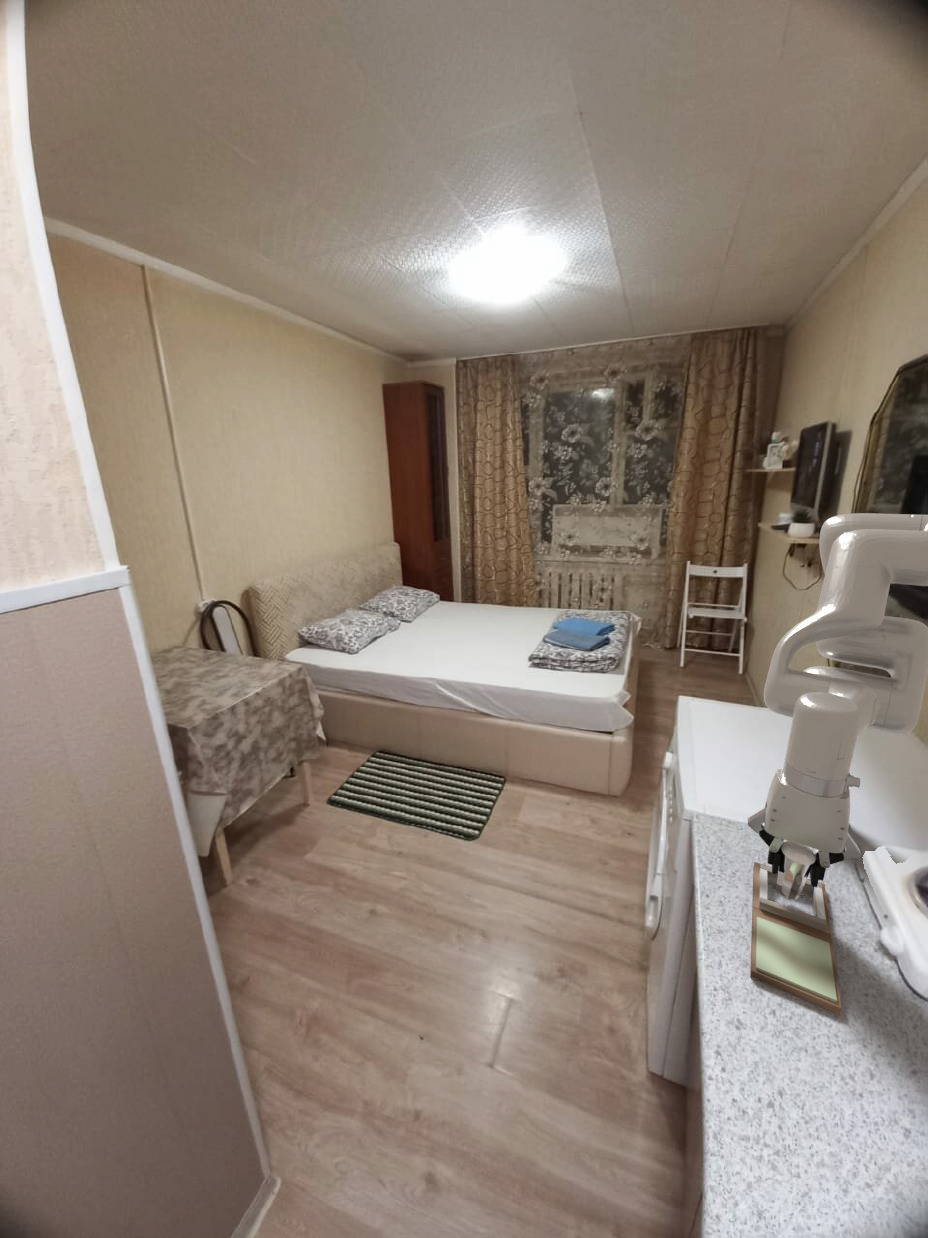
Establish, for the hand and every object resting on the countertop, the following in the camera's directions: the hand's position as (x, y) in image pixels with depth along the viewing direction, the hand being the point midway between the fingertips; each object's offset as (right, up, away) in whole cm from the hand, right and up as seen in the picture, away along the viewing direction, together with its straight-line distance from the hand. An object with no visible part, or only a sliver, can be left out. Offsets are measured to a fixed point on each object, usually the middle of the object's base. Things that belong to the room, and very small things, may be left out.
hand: (793, 873), depth 76 cm
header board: (-2, -7, -3) cm, 8 cm away
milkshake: (0, -4, +1) cm, 4 cm away
